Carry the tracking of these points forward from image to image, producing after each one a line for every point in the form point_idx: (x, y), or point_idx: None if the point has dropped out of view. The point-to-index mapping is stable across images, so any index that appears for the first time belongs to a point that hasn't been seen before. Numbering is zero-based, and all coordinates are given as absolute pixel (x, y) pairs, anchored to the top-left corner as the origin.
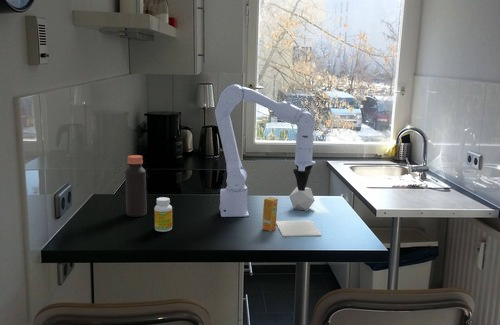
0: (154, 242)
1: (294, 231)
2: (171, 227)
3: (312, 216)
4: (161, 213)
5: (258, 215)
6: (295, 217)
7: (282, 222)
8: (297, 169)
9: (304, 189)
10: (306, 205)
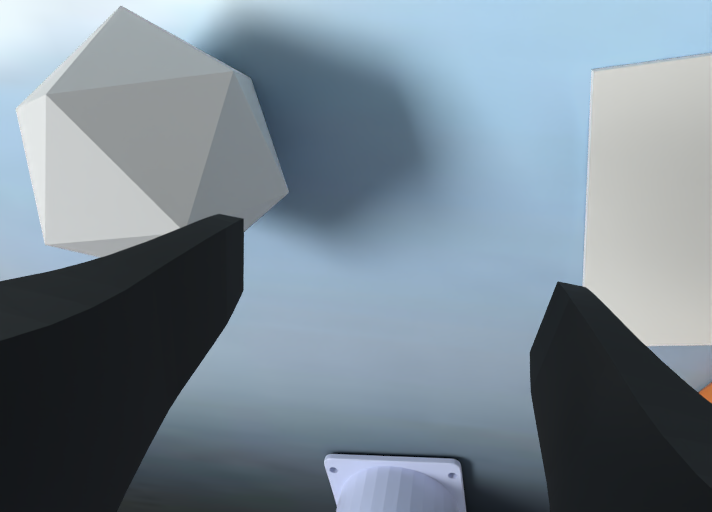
0: None
1: None
2: None
3: (423, 40)
4: None
5: (423, 410)
6: (460, 195)
7: (627, 308)
8: None
9: (596, 298)
10: (254, 101)
